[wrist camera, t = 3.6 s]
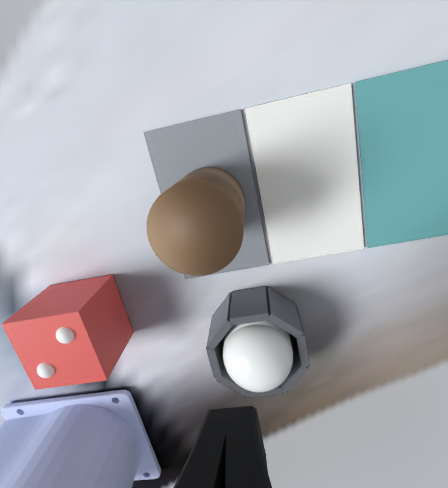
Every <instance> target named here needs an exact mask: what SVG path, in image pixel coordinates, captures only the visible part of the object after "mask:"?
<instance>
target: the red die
mask: <svg viewBox="0 0 448 488" xmlns="http://www.w3.org/2000/svg"><path fill="white" fill-rule="evenodd" d="M2 326H3V328H4V330H5V332H6V334H7V336H8V338H9V340H10V341H11V343H12V345H13V347H14V349H15V351H16V353H17V355H18V357H19V359H20V361H21V363H22V365H23V367H24V369H25V371H26V373H27V375H28V377H29V378H30V380H31V382H32V384H33V386H34V388H35V389H43V388H51V387H59V386H67V385H74V384H82V383H90V382H98V381H105V380H107V379H108V378H109V376H110V374H111V372H112V370H113V369H114V367H115V365H116V363H117V361H118V360H119V358H120V356H121V354H122V352H123V351H124V349H125V347H126V345H127V343H128V342H129V340H130V338H131V336H132V334H133V333H134V332H133V329H132V326H131V324H130V321H129V318H128V315H127V313H126V310H125V307H124V304H123V302H122V299H121V296H120V293H119V291H118V288H117V285H116V282H115V279H114V277H113V274H111V275H106V276H100V277H94V278H89V279H83V280H77V281H72V282H66V283H60V284H55V285H50V286H49V287H47V288H46V289H45V290H44V291H42V292H41V293H40V294H39V295H37V296H36V297H35V298H34V299H32V300H31V301H30V302H29V303H27V304H26V305H25V306H24V307H22V308H21V309H20V310H19V311H17V312H16V313H15V314H14V315H12V316H11V317H10V318H9V319H7V320H6V321H5V322H4V323H2Z"/></svg>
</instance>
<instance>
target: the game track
mask: <svg viewBox="0 0 448 488" xmlns="http://www.w3.org/2000/svg"><path fill="white" fill-rule="evenodd" d="M355 89H356V102H357V115H358V129H359V142H360V155H361V168H362V182H363V195H364V208H365V221H366V235H367V247H368V248H371V247H377V246H383V245H389V244H395V243H400V242H406V241H412V240H418V239H424V238H430V237H436V236H442V235H448V60H447V61H442V62H438V63H434V64H430V65H426V66H421V67H417V68H413V69H409V70H404V71H400V72H396V73H392V74H388V75H383V76H379V77H375V78H371V79H367V80H362V81H358V82H355ZM245 112H246V118H247V123H248V129H249V134H250V140H251V145H252V151H253V157H254V162H255V168H256V173H257V179H258V184H259V190H260V195H261V201H262V206H263V212H264V217H265V223H266V228H267V234H268V239H269V245H270V251H271V256H272V262H273V264H276V263H282V262H288V261H294V260H300V259H306V258H312V257H318V256H324V255H330V254H335V253H341V252H347V251H353V250H359V249H364V240H363V228H362V215H361V202H360V190H359V177H358V164H357V152H356V139H355V126H354V114H353V101H352V88H351V83H350V84H346V85H341V86H337V87H333V88H329V89H325V90H320V91H316V92H312V93H308V94H304V95H299V96H295V97H291V98H287V99H283V100H278V101H274V102H270V103H266V104H262V105H257V106H253V107H249V108H245ZM144 136H145V139H146V143H147V147H148V150H149V154H150V157H151V161H152V164H153V168H154V171H155V175H156V178H157V182H158V185H159V189H160V193H161V194H162V193H163V192H165V191H166V190H167V189H169V188H170V187H171V186H173V185H174V184H175V183H177V182H178V181H179V180H181V179H182V178H183V177H185V176H186V175H187V174H189V173H190V172H192V171H194V170H196V169H199V168H202V167H216V168H220V169H223V170H225V171H227V172H229V173H230V174H231V175H233V176H234V177H235V178H236V179H237V181H238V182H239V183H240V185H241V187H242V189H243V192H244V196H245V214H244V234H243V241H242V245H241V248H240V250H239V252H238V254H237V255H236V257H235V258H234V259H233V261H232V262H231V263H230V264H229V265H227V266H226V267H225V268H223V269H222V270H220V271H218V272H215V273H213V274H217V273H223V272H229V271H235V270H241V269H247V268H253V267H259V266H264V265H269V260H268V255H267V249H266V244H265V239H264V233H263V228H262V222H261V217H260V212H259V206H258V201H257V195H256V190H255V185H254V179H253V174H252V168H251V163H250V158H249V152H248V147H247V141H246V136H245V131H244V125H243V120H242V114H241V110H236V111H232V112H228V113H224V114H220V115H215V116H211V117H207V118H203V119H199V120H194V121H190V122H186V123H182V124H178V125H173V126H169V127H165V128H161V129H157V130H152V131H148V132H144ZM209 275H211V274H209ZM203 276H205V275H203ZM184 277H185V279H188V278H193V277H199V276H192V275H186V274H184Z"/></svg>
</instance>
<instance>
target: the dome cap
mask: <svg viewBox="0 0 448 488" xmlns="http://www.w3.org/2000/svg"><path fill="white" fill-rule="evenodd" d="M223 360H224V365H225V368H226V370H227V372H228V374H229V376H230V377H231V379H232V380H233V381H234V382H235V383H236V384H238V385H239V386H240V387H242V388H244V389H246V390H249V391H252V392H266V391H270V390H272V389H274V388H276V387H278V386H279V385H280V384H282V383H283V382H284V380H285V379H286V378H287V376H288V375H289V373H290V370H291V368H292V363H293V350H292V345H291V340H290V335H289V333H288V332H286V331H284V330H283V329H281V328H279V327H278V326H276V325H275V324H273V323H271V322H270V321H268V320H267V321H260V322H254V323H247V324H240V325H233V326H232V327H231V328H230V330H229V331H228V332H227V333H226V335H225V338H224V347H223Z"/></svg>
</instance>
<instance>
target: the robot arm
mask: <svg viewBox="0 0 448 488" xmlns="http://www.w3.org/2000/svg"><path fill="white" fill-rule="evenodd" d="M116 398H118V399H116ZM1 414H2V416H3V417H4V419H5V421H4V423H3V424H2V425H1V426H0V488H132V485H133V482H134V480H145V479H156V478H158V477H159V476H160V473H161V468H160V466H159V463H158V460H157V458H156V455H155V453H154V450H153V448H152V445H151V443H150V440H149V438H148V435H147V432H146V430H145V427H144V425H143V422H142V420H141V417H140V415H139V412H138V410H137V407H136V405H135V402H134V399H133V397H132V395H131V393H130V392H129V391H127V390H116V391H108V392H100V393H92V394H84V395H76V396H68V397H59V398H51V399H43V400H35V401H27V402H19V403H11V404H6V405H5V406H4V407H3V408H2V409H1ZM174 488H272V486H271V482H270V479H269V476H268V471H267V462H266V453H265V449H264V444H263V439H262V434H261V430H260V425H259V420H258V415H257V411H256V409H255V408H254V407H252V406H247V407H236V408H224V409H213V410H209V411H208V412H207V413H206V416H205V419H204V421H203V424H202V426H201V429H200V431H199V434H198V436H197V438H196V441H195V443H194V445H193V448H192V450H191V452H190V454H189V457H188V459H187V461H186V463H185V465H184V467H183V469H182V471H181V473H180V475H179V477H178V480H177V482H176V484H175V486H174Z"/></svg>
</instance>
